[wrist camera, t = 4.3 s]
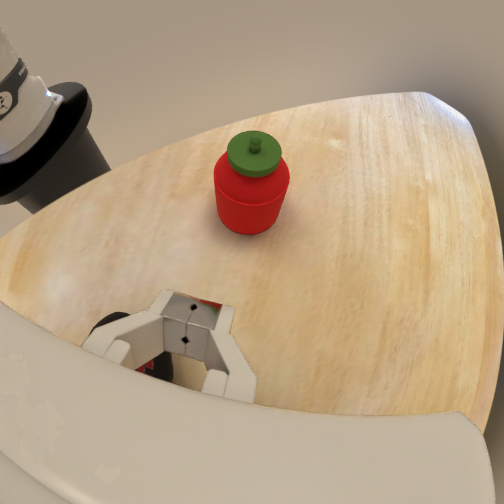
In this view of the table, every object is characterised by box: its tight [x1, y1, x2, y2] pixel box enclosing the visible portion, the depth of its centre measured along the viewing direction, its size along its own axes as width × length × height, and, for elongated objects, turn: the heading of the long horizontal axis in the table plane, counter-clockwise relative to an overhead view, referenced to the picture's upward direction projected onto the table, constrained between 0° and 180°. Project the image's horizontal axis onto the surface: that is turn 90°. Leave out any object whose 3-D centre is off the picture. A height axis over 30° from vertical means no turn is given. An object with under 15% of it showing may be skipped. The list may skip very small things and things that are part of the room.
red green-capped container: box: [214, 131, 290, 235], centre depth 21 cm, size 6×6×10 cm
